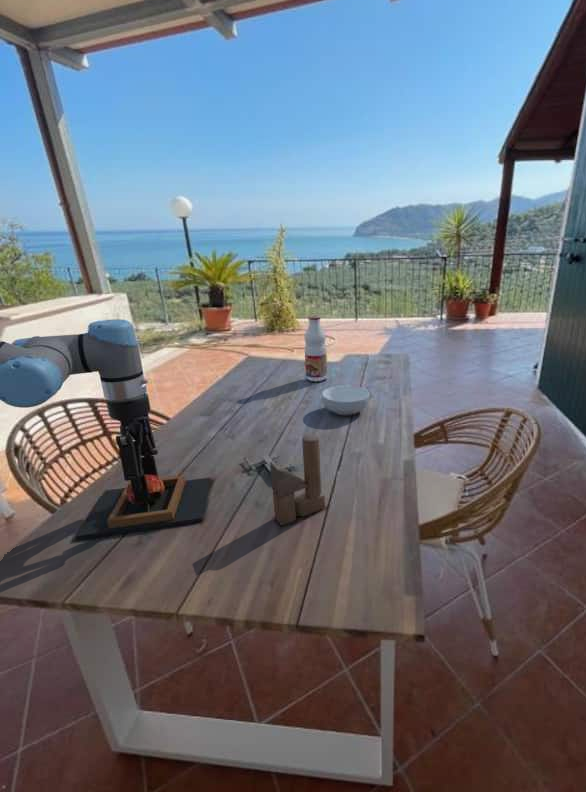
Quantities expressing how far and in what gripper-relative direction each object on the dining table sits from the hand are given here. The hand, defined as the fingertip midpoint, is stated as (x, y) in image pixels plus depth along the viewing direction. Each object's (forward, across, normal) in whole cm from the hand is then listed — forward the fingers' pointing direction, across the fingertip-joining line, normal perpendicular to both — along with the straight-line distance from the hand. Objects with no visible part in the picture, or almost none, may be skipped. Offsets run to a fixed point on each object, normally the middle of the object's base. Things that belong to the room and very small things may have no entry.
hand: (147, 491), depth 87 cm
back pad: (+4, 0, 0) cm, 4 cm away
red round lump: (+3, 0, 0) cm, 3 cm away
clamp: (+5, +10, -27) cm, 29 cm away
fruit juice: (+5, +80, -48) cm, 94 cm away
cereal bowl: (+5, +43, -54) cm, 69 cm away
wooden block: (+5, -10, -33) cm, 35 cm away
